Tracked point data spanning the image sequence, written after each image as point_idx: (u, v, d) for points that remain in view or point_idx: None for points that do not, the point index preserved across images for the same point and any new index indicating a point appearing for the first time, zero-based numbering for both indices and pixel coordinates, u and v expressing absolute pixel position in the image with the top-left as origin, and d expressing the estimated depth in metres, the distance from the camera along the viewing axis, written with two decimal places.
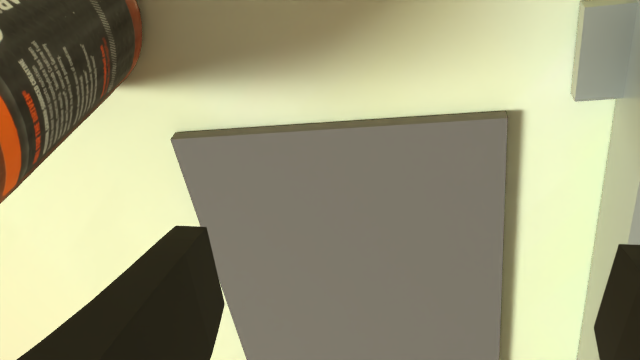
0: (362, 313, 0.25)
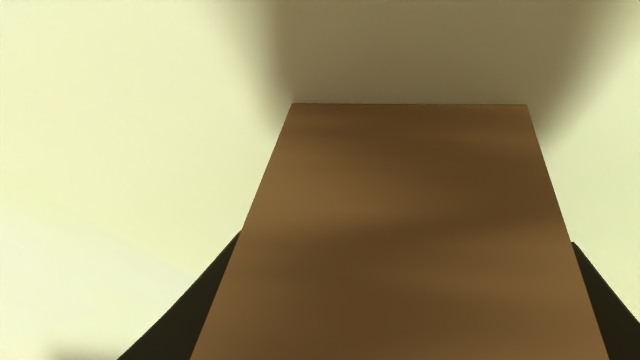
0: None
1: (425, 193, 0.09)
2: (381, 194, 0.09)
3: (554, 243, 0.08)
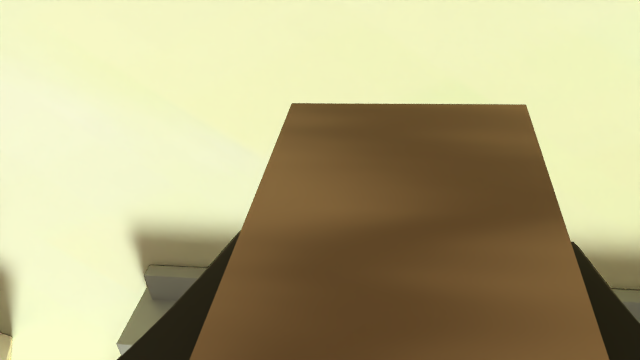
0: None
1: (424, 192, 0.09)
2: (381, 193, 0.09)
3: (553, 242, 0.08)
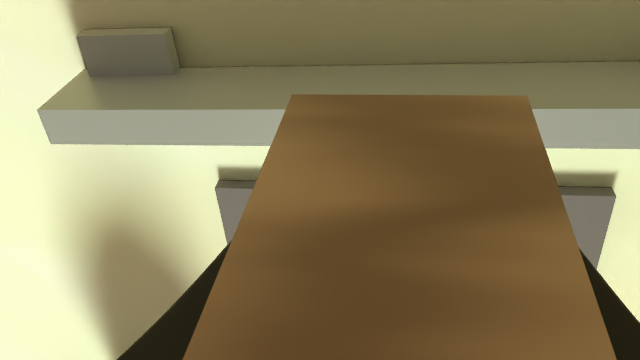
0: None
1: (426, 181, 0.09)
2: (381, 182, 0.09)
3: (555, 230, 0.07)
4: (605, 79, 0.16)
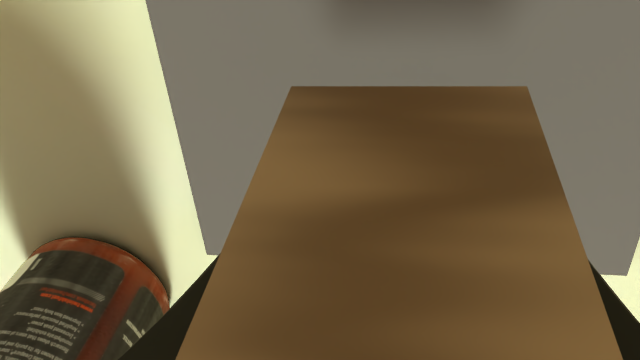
0: None
1: (425, 170, 0.09)
2: (381, 171, 0.09)
3: (556, 217, 0.07)
4: None
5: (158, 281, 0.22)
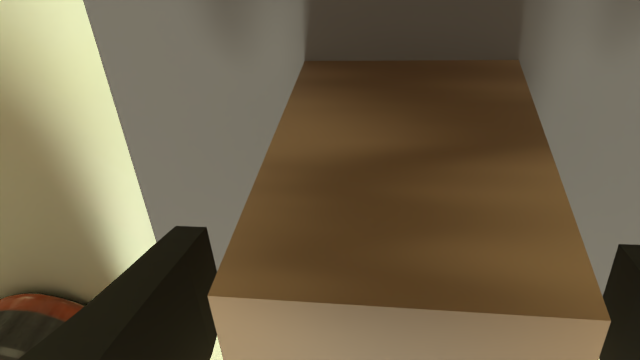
0: None
1: (427, 128, 0.10)
2: (387, 130, 0.10)
3: (540, 164, 0.09)
4: None
5: None
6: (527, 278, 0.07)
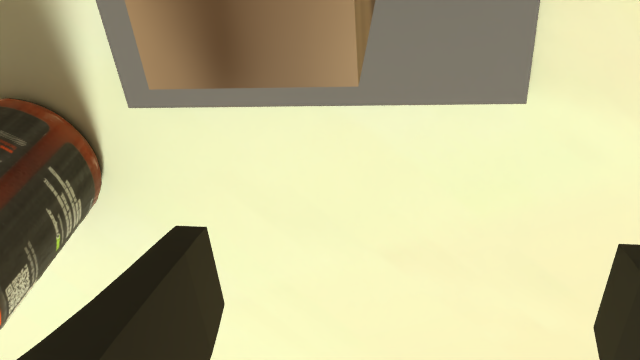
0: None
1: None
2: None
3: None
4: None
5: (87, 143, 0.22)
6: None
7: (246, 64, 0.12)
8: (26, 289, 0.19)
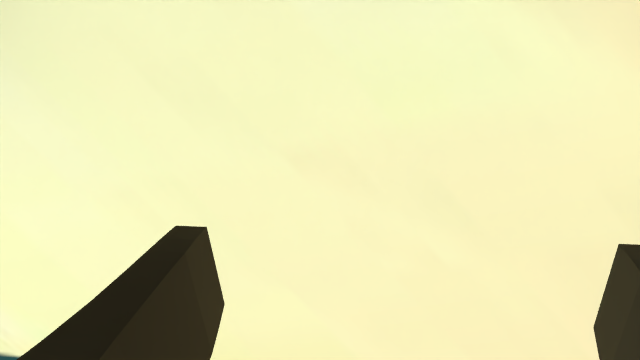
0: None
1: None
2: None
3: None
4: None
5: None
6: None
7: None
8: None
